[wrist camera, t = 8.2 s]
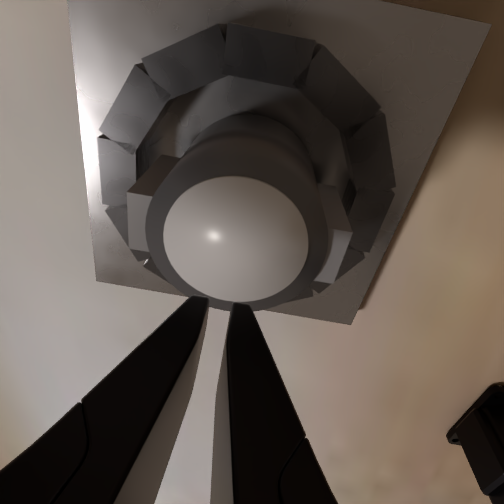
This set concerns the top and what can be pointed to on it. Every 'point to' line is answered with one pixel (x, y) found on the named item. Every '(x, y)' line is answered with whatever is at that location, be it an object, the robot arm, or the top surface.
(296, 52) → the barrel plate
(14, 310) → the top surface
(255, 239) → the domed button housing
